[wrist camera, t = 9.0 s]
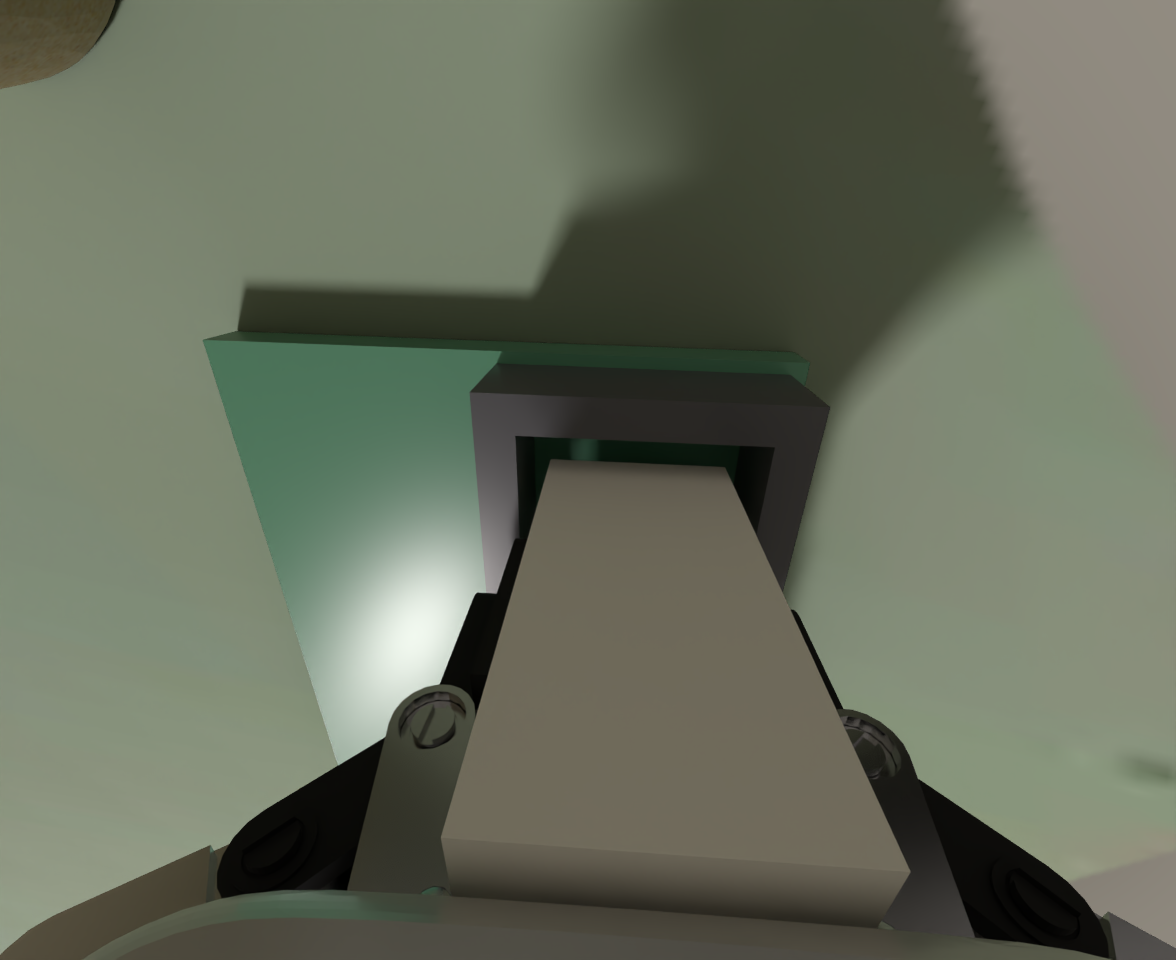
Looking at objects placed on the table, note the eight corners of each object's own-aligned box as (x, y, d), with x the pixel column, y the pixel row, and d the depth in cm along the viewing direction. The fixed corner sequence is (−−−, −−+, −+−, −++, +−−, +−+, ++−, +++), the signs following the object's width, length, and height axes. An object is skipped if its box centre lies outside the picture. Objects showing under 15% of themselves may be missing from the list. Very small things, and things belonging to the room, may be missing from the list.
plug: (550, 459, 11) (440, 837, 4) (724, 467, 11) (911, 872, 4) (552, 653, 14) (487, 1081, 7) (692, 662, 14) (769, 1107, 7)
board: (235, 331, 13) (111, 363, 10) (794, 352, 13) (854, 393, 10) (352, 740, 21) (303, 835, 18) (706, 764, 21) (723, 866, 17)
